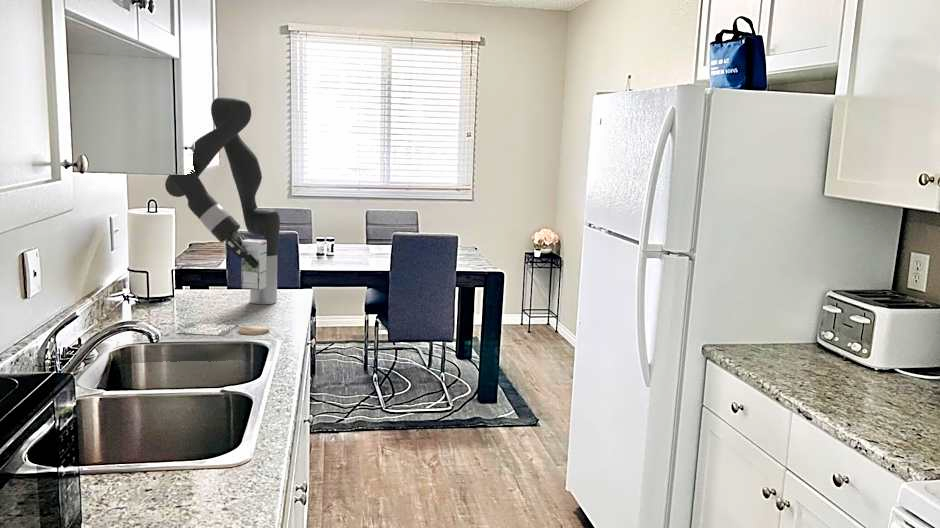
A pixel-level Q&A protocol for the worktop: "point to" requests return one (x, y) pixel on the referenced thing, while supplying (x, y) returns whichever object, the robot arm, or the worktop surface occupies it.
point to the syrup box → (256, 276)
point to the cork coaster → (253, 330)
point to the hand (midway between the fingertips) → (259, 264)
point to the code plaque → (218, 334)
